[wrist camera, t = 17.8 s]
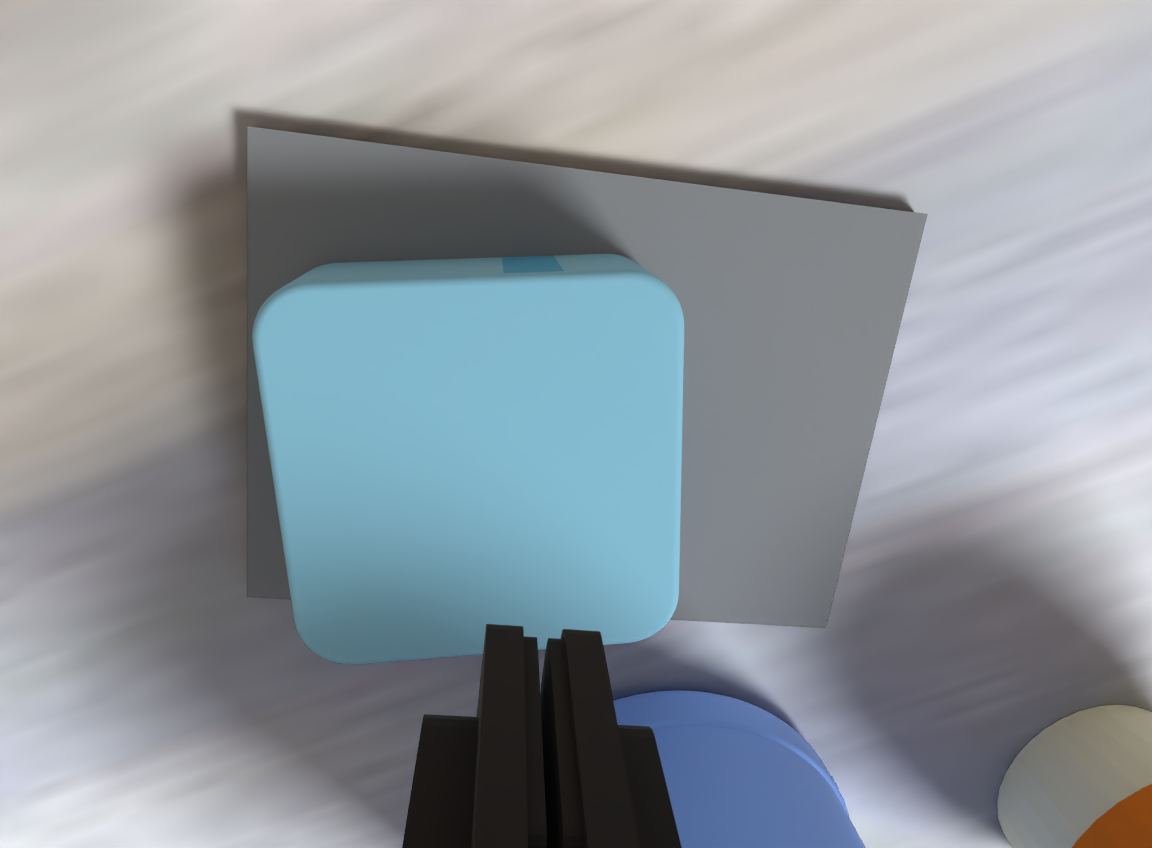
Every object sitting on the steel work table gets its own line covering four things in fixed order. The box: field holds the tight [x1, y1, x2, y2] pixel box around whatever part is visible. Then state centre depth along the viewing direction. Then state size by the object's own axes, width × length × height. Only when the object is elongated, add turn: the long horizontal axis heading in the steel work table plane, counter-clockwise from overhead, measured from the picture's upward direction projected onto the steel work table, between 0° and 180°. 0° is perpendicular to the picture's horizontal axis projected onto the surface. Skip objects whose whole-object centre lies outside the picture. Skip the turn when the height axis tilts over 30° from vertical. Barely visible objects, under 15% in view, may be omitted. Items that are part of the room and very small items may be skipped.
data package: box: [252, 254, 684, 664], centre depth 26 cm, size 12×4×12 cm
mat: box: [247, 126, 927, 628], centre depth 28 cm, size 22×16×1 cm
